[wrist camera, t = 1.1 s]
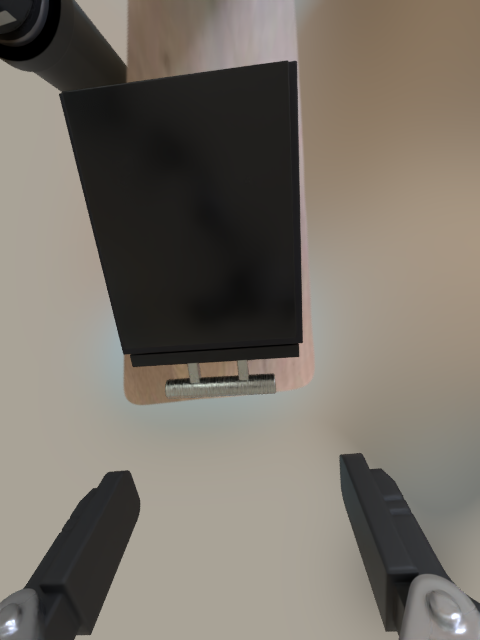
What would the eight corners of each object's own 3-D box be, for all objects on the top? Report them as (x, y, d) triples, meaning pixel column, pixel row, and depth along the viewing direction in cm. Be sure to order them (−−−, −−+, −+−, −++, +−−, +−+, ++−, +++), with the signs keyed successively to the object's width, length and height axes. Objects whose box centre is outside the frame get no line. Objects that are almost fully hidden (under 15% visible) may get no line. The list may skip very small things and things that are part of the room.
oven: (279, 289, 36) (304, 346, 19) (182, 297, 37) (119, 358, 20) (273, 150, 31) (299, 52, 14) (160, 163, 32) (50, 88, 15)
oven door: (282, 334, 35) (300, 401, 21) (183, 341, 35) (142, 409, 22) (280, 297, 33) (298, 344, 20) (177, 305, 34) (129, 355, 21)
